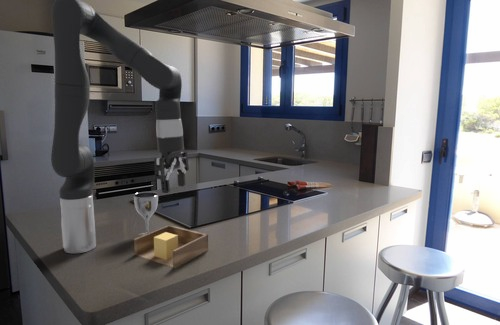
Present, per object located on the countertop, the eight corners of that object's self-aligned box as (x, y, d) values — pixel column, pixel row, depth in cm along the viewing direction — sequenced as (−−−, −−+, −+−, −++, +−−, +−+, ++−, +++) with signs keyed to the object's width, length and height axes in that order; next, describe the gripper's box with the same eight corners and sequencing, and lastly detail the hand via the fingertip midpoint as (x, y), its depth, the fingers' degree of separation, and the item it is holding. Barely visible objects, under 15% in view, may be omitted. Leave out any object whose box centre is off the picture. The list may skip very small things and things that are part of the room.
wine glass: (161, 231, 128) (160, 191, 125) (156, 240, 120) (154, 197, 117) (139, 231, 127) (137, 191, 125) (133, 240, 120) (130, 197, 117)
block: (154, 256, 106) (153, 237, 105) (166, 250, 110) (165, 232, 109) (166, 259, 103) (165, 240, 102) (178, 253, 108) (177, 235, 107)
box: (134, 256, 107) (133, 239, 106) (169, 240, 119) (169, 224, 118) (175, 270, 98) (174, 251, 97) (208, 251, 111) (208, 234, 110)
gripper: (172, 133, 110) (176, 183, 113) (143, 137, 97) (149, 194, 100) (193, 132, 108) (197, 184, 110) (166, 137, 95) (171, 195, 97)
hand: (174, 189), depth 105 cm, fingers open, 8 cm apart
